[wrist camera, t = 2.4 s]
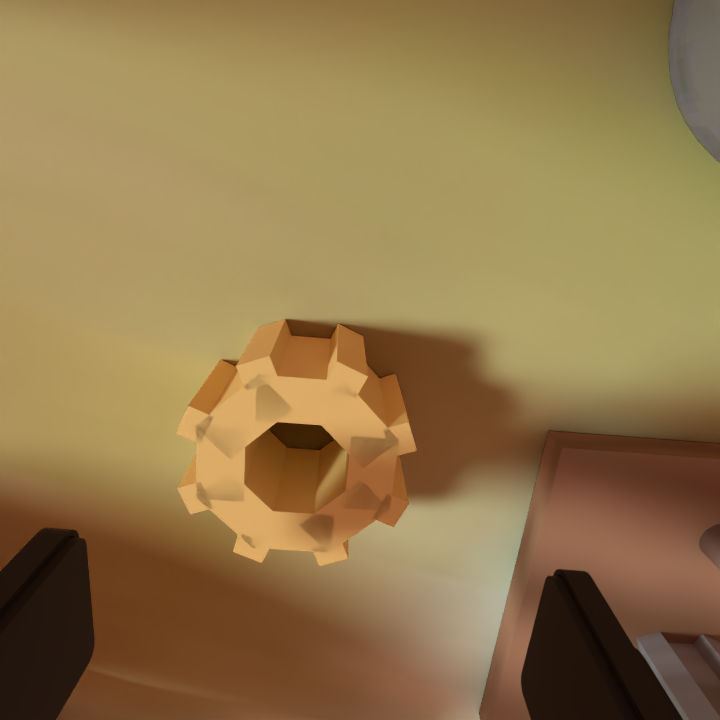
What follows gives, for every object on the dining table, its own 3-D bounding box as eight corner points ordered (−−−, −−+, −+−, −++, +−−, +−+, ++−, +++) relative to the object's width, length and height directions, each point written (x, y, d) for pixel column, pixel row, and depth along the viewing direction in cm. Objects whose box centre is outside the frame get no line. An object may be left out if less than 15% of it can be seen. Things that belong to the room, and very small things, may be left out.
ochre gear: (210, 312, 16) (173, 348, 12) (411, 329, 16) (429, 368, 13) (210, 487, 18) (179, 558, 15) (388, 499, 18) (398, 570, 15)
